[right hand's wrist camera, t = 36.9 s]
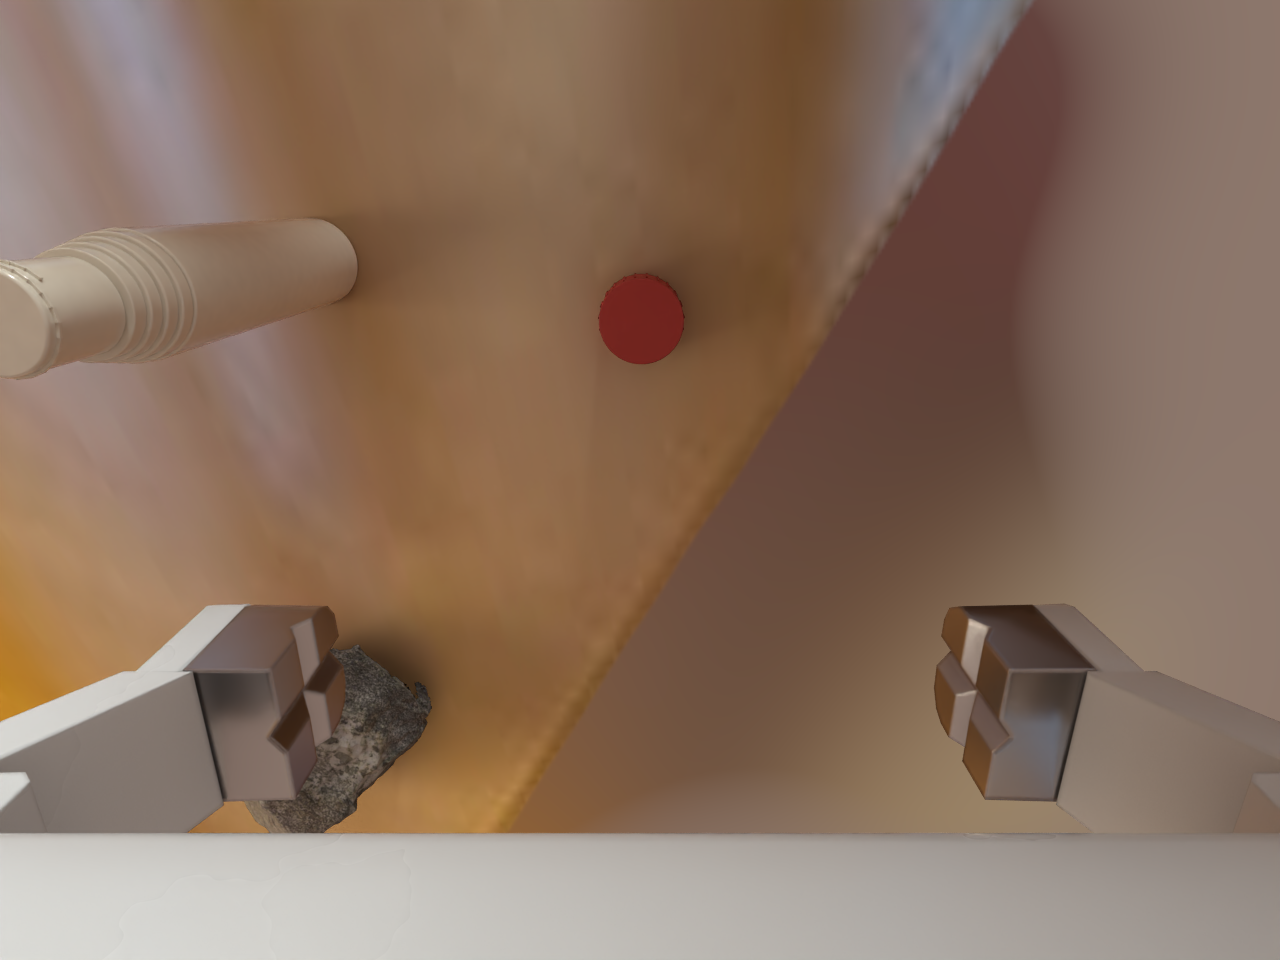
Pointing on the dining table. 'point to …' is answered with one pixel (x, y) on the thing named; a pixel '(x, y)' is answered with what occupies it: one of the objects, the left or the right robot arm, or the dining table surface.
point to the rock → (352, 748)
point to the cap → (641, 319)
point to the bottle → (164, 290)
